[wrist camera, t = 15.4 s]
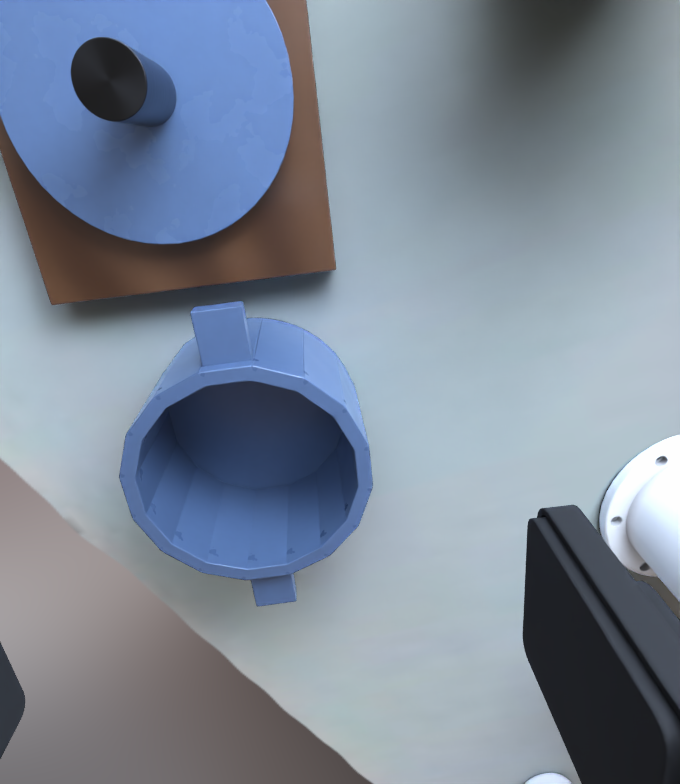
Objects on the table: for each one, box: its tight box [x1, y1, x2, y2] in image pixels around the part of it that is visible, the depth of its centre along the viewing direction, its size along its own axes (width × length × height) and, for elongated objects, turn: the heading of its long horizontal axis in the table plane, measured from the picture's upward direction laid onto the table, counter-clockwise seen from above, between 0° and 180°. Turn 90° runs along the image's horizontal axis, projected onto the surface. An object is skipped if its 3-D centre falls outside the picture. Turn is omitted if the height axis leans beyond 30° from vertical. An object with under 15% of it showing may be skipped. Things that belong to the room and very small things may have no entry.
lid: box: [0, 0, 294, 245], centre depth 24 cm, size 14×14×7 cm
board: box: [0, 0, 336, 305], centre depth 28 cm, size 16×19×2 cm
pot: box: [119, 301, 373, 606], centre depth 32 cm, size 13×18×8 cm
